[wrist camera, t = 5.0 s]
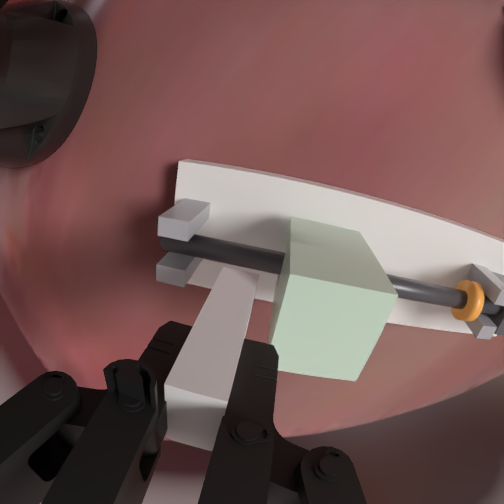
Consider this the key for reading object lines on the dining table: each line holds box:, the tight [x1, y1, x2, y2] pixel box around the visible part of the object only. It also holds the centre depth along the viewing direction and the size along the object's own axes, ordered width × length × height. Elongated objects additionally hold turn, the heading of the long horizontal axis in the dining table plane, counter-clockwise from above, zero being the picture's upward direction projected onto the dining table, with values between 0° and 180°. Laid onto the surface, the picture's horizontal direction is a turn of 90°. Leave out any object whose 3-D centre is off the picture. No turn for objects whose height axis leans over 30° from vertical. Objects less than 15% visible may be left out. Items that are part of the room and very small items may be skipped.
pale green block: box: [268, 216, 398, 381], centre depth 14 cm, size 4×4×7 cm
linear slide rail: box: [156, 159, 504, 339], centre depth 16 cm, size 28×8×6 cm, turn 80°
